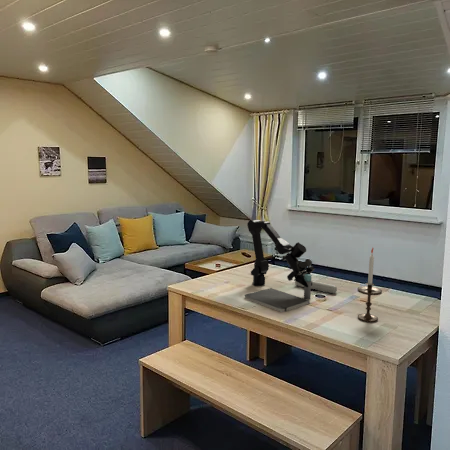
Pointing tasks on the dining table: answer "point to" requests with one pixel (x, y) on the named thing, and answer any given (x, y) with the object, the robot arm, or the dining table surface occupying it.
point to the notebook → (276, 299)
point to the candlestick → (369, 293)
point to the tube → (320, 287)
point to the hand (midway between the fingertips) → (309, 286)
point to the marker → (308, 289)
